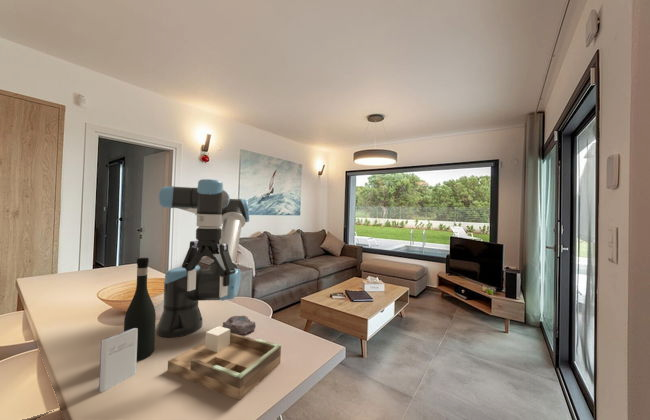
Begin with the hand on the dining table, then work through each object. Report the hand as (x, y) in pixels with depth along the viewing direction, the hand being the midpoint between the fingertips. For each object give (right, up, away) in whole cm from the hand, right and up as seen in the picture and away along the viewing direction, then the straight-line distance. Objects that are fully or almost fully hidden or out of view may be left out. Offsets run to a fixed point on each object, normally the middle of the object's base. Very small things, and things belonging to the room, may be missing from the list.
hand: (206, 293), depth 84 cm
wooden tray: (+10, -19, -9) cm, 23 cm away
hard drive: (-16, -18, -16) cm, 29 cm away
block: (+5, -16, -3) cm, 17 cm away
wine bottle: (-19, -18, -4) cm, 27 cm away
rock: (+9, -20, +12) cm, 25 cm away
